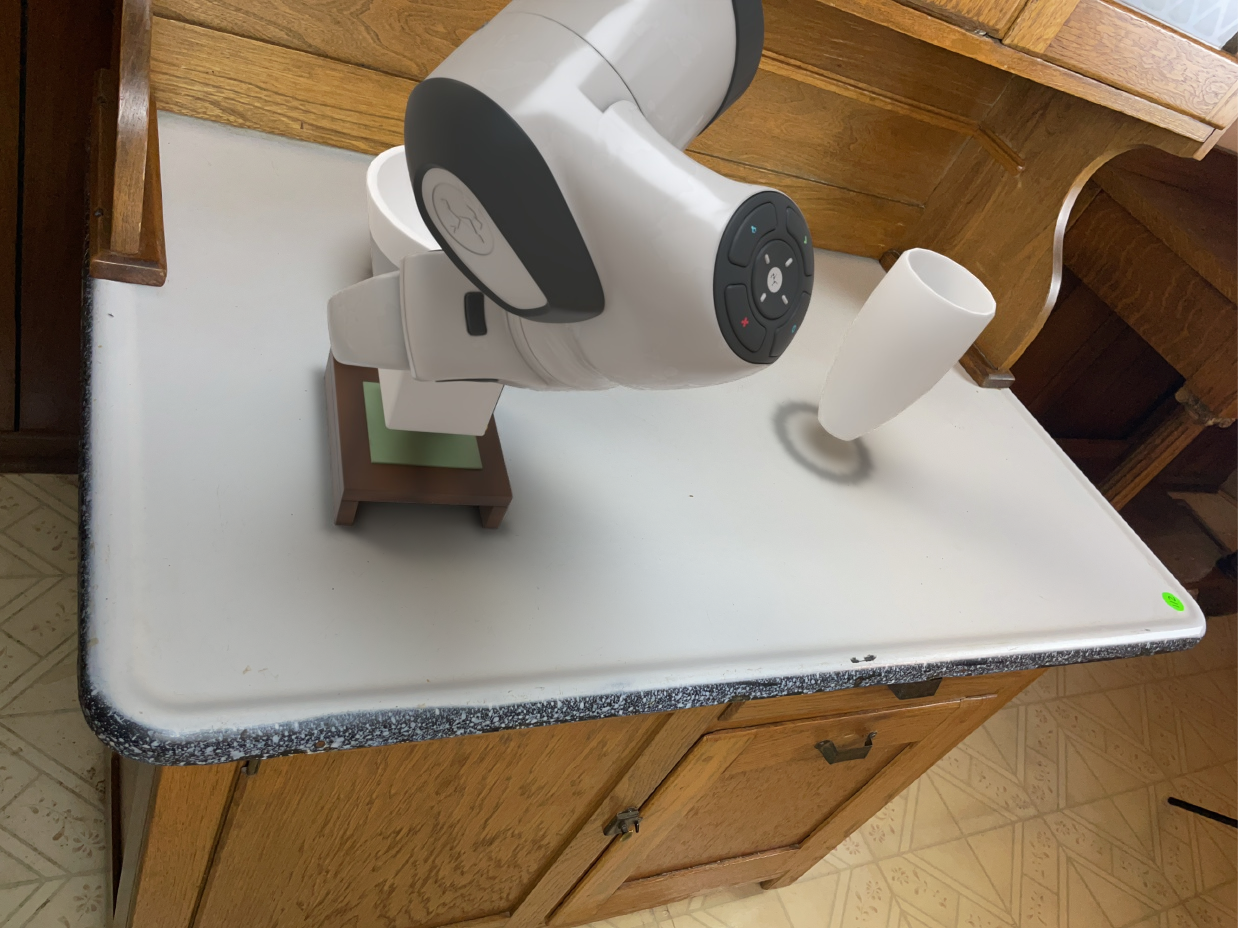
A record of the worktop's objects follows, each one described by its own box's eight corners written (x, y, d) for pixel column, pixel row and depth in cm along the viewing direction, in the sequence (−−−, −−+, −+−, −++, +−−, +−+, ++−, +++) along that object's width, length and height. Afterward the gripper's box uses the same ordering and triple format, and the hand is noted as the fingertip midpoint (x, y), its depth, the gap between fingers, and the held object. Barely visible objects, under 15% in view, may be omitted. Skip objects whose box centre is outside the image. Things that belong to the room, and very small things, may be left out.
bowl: (330, 338, 72) (352, 232, 65) (357, 217, 85) (378, 118, 78) (547, 390, 79) (588, 298, 72) (541, 270, 92) (575, 182, 85)
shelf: (334, 525, 60) (348, 469, 56) (323, 377, 69) (335, 320, 65) (498, 529, 65) (521, 479, 61) (468, 392, 74) (487, 340, 70)
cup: (794, 473, 85) (927, 303, 70) (767, 400, 91) (883, 232, 77) (878, 487, 88) (1021, 330, 74) (846, 417, 95) (971, 260, 81)
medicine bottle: (485, 438, 62) (536, 309, 54) (384, 431, 59) (424, 293, 51) (469, 370, 66) (515, 242, 58) (375, 360, 63) (410, 223, 55)
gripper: (695, 254, 53) (570, 279, 64) (378, 252, 41) (291, 283, 52) (702, 356, 54) (577, 364, 65) (393, 384, 42) (304, 387, 53)
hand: (448, 328), depth 58 cm, fingers closed on medicine bottle, 8 cm apart
